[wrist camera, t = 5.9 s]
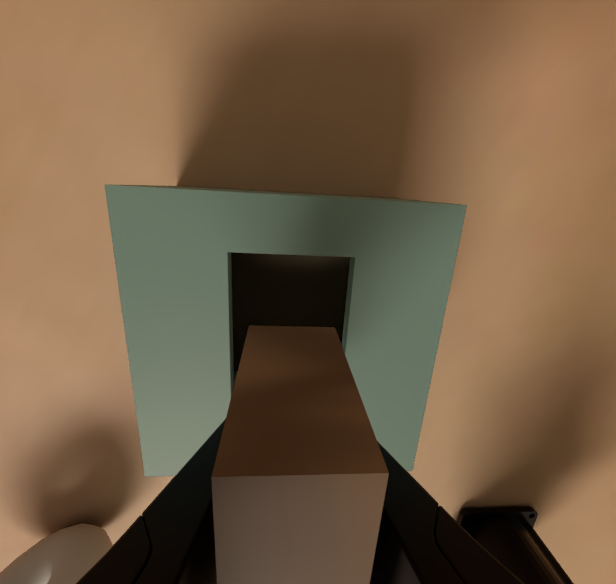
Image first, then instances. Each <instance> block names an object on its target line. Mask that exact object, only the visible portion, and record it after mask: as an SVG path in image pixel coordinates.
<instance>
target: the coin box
mask: <svg viewBox="0 0 616 584" xmlns="http://www.w3.org/2000/svg"><path fill="white" fill-rule="evenodd" d="M105 191H106V198H107V206H108V213H109V220H110V227H111V235H112V242H113V249H114V256H115V264H116V271H117V278H118V285H119V293H120V300H121V307H122V314H123V322H124V329H125V336H126V343H127V351H128V358H129V365H130V372H131V380H132V387H133V394H134V401H135V409H136V416H137V423H138V430H139V438H140V445H141V452H142V459H143V467H144V474H145V477H154V476H175V475H176V474H177V473H178V472H179V471H180V470H181V469H182V468H183V466H184V465H185V464H186V463H187V462H188V461H189V460H190V458H191V457H192V456H193V455H194V454H195V453H196V452H197V451H198V449H199V448H200V447H201V446H202V445H203V444H204V443H205V441H206V440H207V439H208V438H209V437H210V436H211V435H212V433H213V432H214V431H215V430H216V429H217V428H218V427H219V426H220V424H221V423H222V422H223V421H224V420H225V419H226V416H227V412H228V408H229V404H230V400H231V396H232V392H233V388H234V384H235V380H236V376H237V372H234V368H233V320H232V272H231V252H234V253H260V254H285V255H310V256H335V257H350V267H349V277H348V287H347V297H346V307H345V317H344V327H343V337H342V348H343V351H344V353H345V356H346V359H347V361H348V364H349V367H350V369H351V372H352V375H353V378H354V380H355V383H356V386H357V388H358V391H359V394H360V396H361V399H362V402H363V404H364V407H365V410H366V413H367V415H368V418H369V421H370V423H371V426H372V429H373V431H374V434H375V437H376V440H377V441H378V442H379V443H380V444H381V445H382V446H383V447H384V448H385V449H386V450H387V451H388V452H389V453H390V454H391V455H392V456H393V457H394V458H395V459H396V461H397V462H398V463H399V464H400V465H401V466H402V467H403V468H404V469H405V470H406V471H412V470H413V466H414V461H415V456H416V451H417V446H418V441H419V436H420V431H421V427H422V422H423V417H424V412H425V407H426V402H427V397H428V392H429V388H430V383H431V378H432V373H433V368H434V363H435V358H436V353H437V349H438V344H439V339H440V334H441V329H442V324H443V319H444V315H445V310H446V305H447V300H448V295H449V290H450V285H451V280H452V276H453V271H454V266H455V261H456V256H457V251H458V246H459V241H460V237H461V232H462V227H463V222H464V217H465V212H466V207H467V205H460V204H449V203H439V202H428V201H417V200H406V199H393V198H376V197H358V196H341V195H323V194H306V193H289V192H271V191H254V190H236V189H219V188H201V187H184V186H148V185H105Z"/></svg>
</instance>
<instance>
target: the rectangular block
mask: <svg viewBox="0 0 616 584" xmlns="http://www.w3.org/2000/svg"><path fill="white" fill-rule="evenodd" d="M388 476H389V472H388V469H387V466H386V464H385V461H384V458H383V456H382V453H381V450H380V448H379V445H378V442H377V440H376V437H375V434H374V431H373V429H372V426H371V423H370V421H369V418H368V415H367V413H366V410H365V407H364V404H363V402H362V399H361V396H360V394H359V391H358V388H357V386H356V383H355V380H354V378H353V375H352V372H351V369H350V367H349V364H348V361H347V359H346V356H345V353H344V351H343V348H342V345H341V343H340V340H339V337H338V334H337V332H336V329H335V327H298V326H249V328H248V332H247V336H246V340H245V344H244V348H243V352H242V356H241V360H240V364H239V368H238V372H237V376H236V380H235V384H234V388H233V392H232V396H231V400H230V404H229V408H228V412H227V416H226V420H225V424H224V428H223V432H222V436H221V440H220V444H219V449H218V453H217V457H216V461H215V465H214V469H213V473H212V477H211V479H212V498H213V517H214V536H215V554H216V573H217V584H370V578H371V573H372V567H373V561H374V555H375V550H376V544H377V538H378V533H379V527H380V521H381V516H382V510H383V504H384V498H385V493H386V487H387V481H388Z"/></svg>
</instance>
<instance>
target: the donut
mask: <svg viewBox="0 0 616 584" xmlns="http://www.w3.org/2000/svg"><path fill="white" fill-rule="evenodd" d="M112 546H113V545H112V543H111V541H110V538H109V536H108V535H107V533H106V531H105V530H104V529H102V528H101V527H99V526H95V525H91V524H84V523H81V524H78V525H74V526H71V527H67V528H64V529H60V530H58V531H56V532H55V533H53V534H51V535H49V536H47V537H46V538H44V539H42V540H41V541H39V542H38V543H37V544H35V545H34V546H32V547H31V548H30V549H28V550H27V551H26V552H24V553H23V554H22V555H20V556H19V557H18V558H16V559H15V560H14V561H13V562H12V563H11V564H10V565H9V566H7V567H6V568H5V569H4V570H3V571H2V572H1V573H0V584H76V583H77V582H78V581H79V580H80V579H81V578H82V577H83V576H84V575H85V574H86V573H87V572H88V571H89V570H90V569H91V568H92V567H93V566H94V565H95V564H96V563H97V562H98V561H99V560H100V559H101V558H102V557H103V556H104V555H105V554H106V553H107V551H108V550H109V549H110V548H111V547H112Z"/></svg>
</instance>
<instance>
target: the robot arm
mask: <svg viewBox="0 0 616 584" xmlns="http://www.w3.org/2000/svg"><path fill="white" fill-rule="evenodd" d="M225 420H226V419H225ZM225 420H224V421H223V422H222V423H221V424H220V426H219V427H218V428H217V429H216V430H215V431H214V432H213V433H212V435H211V436H210V437H209V438H208V439H207V440H206V441H205V443H204V444H203V445H202V446H201V447H200V448H199V449H198V451H197V452H196V453H195V454H194V455H193V456H192V457H191V458H190V460H189V461H188V462H187V463H186V464H185V465H184V466H183V468H182V469H181V470H180V471H179V472H178V473H177V474H176V475H175V477H174V478H173V479H172V480H171V481H170V482H169V483H168V485H167V486H166V487H165V488H164V489H163V490H162V491H161V492H160V494H159V495H158V496H157V497H156V498H155V499H154V500H153V502H152V503H151V504H150V505H149V506H148V507H147V508H146V510H145V511H144V512H143V513H142V516H139V517H138V518H137V519H136V521H135V522H134V523H133V524H132V525H131V526H130V527H129V529H128V530H127V531H126V532H125V533H124V534H123V535H122V536H121V537H120V538H119V540H118V541H117V542H116V543H115V544H114V545H113V546H112V547H111V548H110V549H109V550H108V551H107V553H106V554H105V555H104V556H103V557H102V558H101V559H100V560H99V561H98V562H97V563H96V564H95V565H94V566H93V567H92V568H91V569H90V570H89V571H88V572H87V573H86V574H85V575H84V576H83V577H82V578H81V579H80V580H79V581H78V582H77V583H76V584H217V573H216V554H215V536H214V517H213V498H212V479H211V477H212V473H213V469H214V465H215V461H216V457H217V453H218V449H219V444H220V440H221V436H222V432H223V428H224V424H225ZM377 442H378V441H377ZM378 445H379V448H380V450H381V453H382V456H383V458H384V461H385V464H386V466H387V469H388V472H389V476H388V481H387V487H386V493H385V498H384V504H383V510H382V516H381V521H380V527H379V533H378V538H377V544H376V550H375V555H374V561H373V567H372V573H371V578H370V584H574V583H573V582H572V581H571V579H570V578H569V577H568V575H567V574H566V573H565V571H564V570H563V568H562V567H561V566H560V564H559V563H558V562H557V560H556V559H555V558H554V556H553V555H552V553H551V552H550V551H549V549H548V548H547V547H546V545H545V544H544V543H543V541H542V540H541V538H540V537H539V536H538V534H537V533H536V532H535V530H534V529H533V526H534V523H535V521H536V518H537V515H538V514H537V512H536V511H535V509H534V508H533V507H507V508H477V509H464V510H462V511H461V512H460V514H459V518H458V521H457V522H456V521H455V520H454V519H453V518H452V517H451V516H450V515H449V514H448V513H447V512H446V511H445V510H444V508H443V507H442V506H439V507H438V503H437V501H436V500H435V499H434V498H433V497H432V496H431V495H430V494H429V493H428V492H427V491H426V490H425V489H424V488H423V487H422V486H421V485H420V484H419V483H418V482H417V481H416V480H415V479H414V478H413V477H412V476H411V475H410V474H409V473H408V472H407V471H406V470H405V469H404V468H403V467H402V466H401V465H400V464H399V463H398V462H397V461H396V459H395V458H394V457H393V456H392V455H391V454H390V453H389V452H388V451H387V450H386V449H385V448H384V447H383V446H382V445H381V444H380V443H379V442H378Z"/></svg>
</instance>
